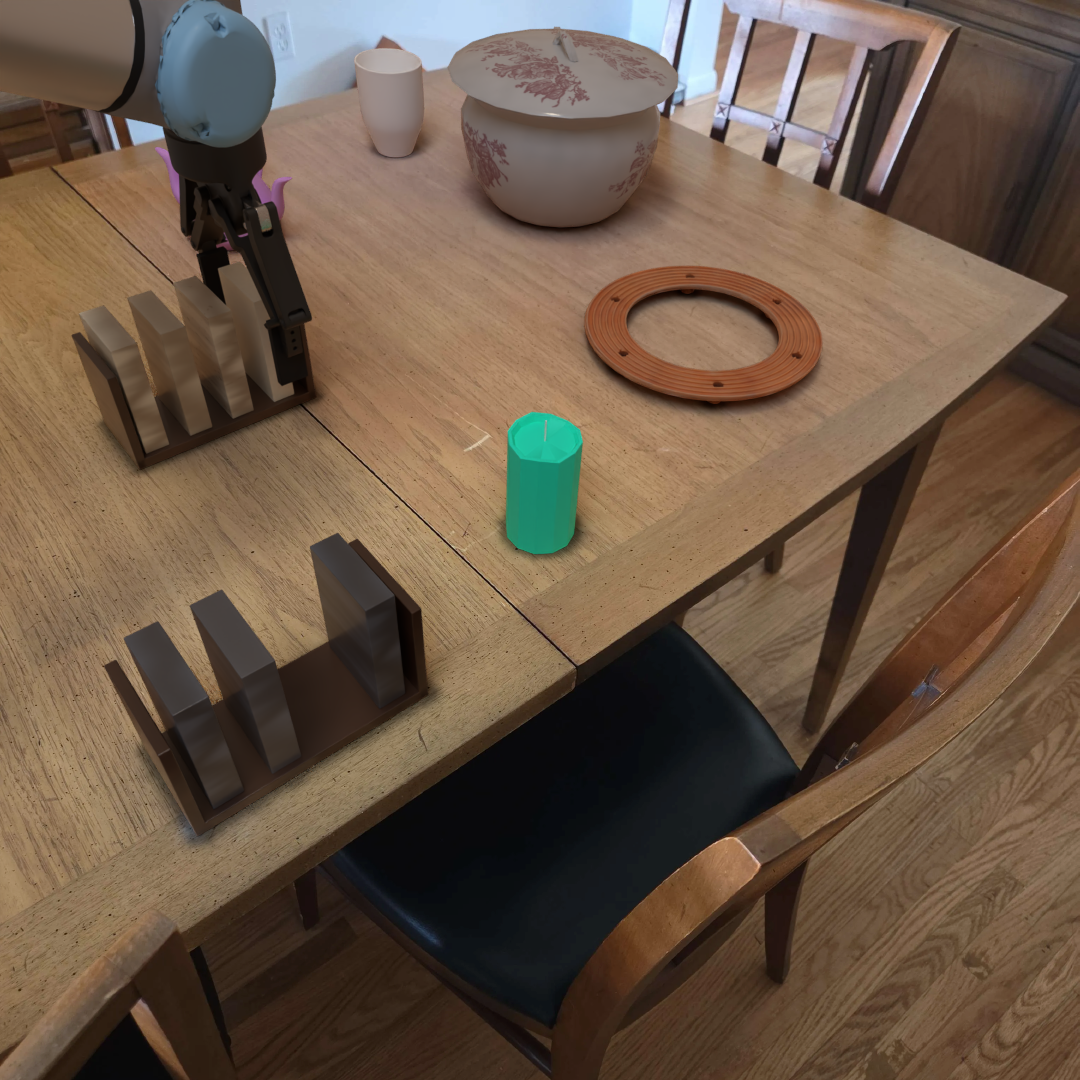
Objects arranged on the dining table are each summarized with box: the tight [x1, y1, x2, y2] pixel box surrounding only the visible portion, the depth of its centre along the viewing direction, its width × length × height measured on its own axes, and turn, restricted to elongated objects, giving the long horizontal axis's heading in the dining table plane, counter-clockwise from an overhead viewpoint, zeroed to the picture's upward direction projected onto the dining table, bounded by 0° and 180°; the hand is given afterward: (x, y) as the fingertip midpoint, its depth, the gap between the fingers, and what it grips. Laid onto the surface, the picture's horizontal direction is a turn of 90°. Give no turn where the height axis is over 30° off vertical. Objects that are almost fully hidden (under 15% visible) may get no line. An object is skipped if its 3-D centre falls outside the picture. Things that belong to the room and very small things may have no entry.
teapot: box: [154, 146, 293, 251], centre depth 110 cm, size 12×14×9 cm
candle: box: [505, 411, 584, 555], centre depth 76 cm, size 6×6×12 cm
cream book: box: [218, 261, 294, 402], centre depth 88 cm, size 2×7×11 cm, turn 39°
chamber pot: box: [447, 26, 679, 228], centre depth 115 cm, size 28×28×21 cm
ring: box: [583, 265, 824, 405], centre depth 100 cm, size 25×25×2 cm
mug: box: [353, 47, 425, 158], centre depth 128 cm, size 12×9×12 cm
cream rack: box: [71, 275, 317, 471], centre depth 85 cm, size 18×8×12 cm, turn 129°
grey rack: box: [103, 532, 429, 837], centre depth 62 cm, size 18×8×12 cm, turn 129°
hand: (258, 344), depth 88 cm, fingers open, 13 cm apart
